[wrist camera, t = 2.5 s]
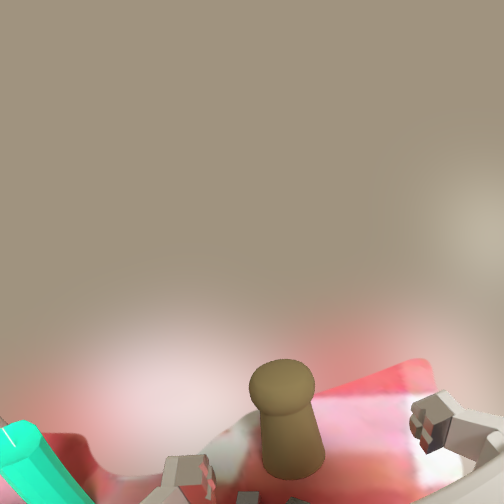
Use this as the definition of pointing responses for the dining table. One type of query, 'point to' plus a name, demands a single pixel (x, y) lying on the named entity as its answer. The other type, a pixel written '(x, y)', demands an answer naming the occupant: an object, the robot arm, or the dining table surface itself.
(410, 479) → the dining table surface
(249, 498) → the sprocket plate
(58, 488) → the candle
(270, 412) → the cork
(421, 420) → the robot arm
